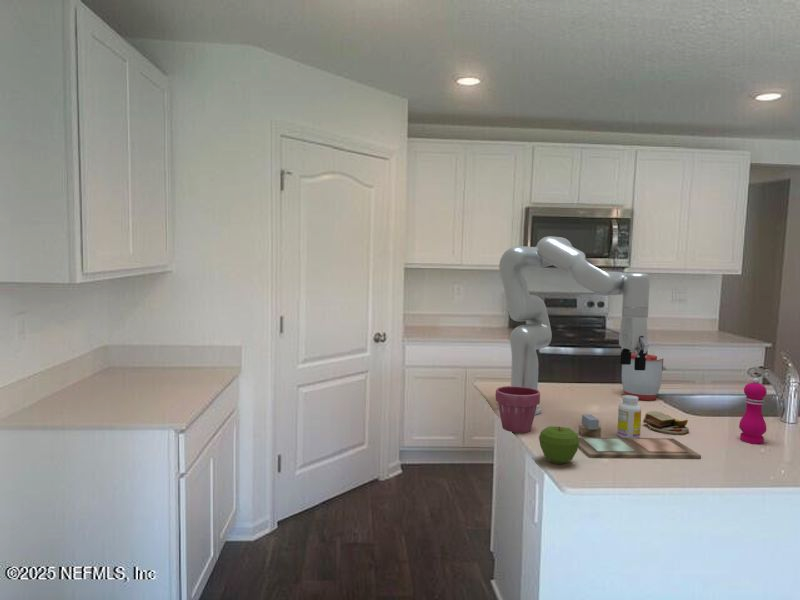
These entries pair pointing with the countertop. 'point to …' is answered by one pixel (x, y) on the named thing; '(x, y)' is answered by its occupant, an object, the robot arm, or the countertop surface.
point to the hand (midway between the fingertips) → (632, 367)
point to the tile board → (636, 448)
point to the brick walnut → (589, 432)
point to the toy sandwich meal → (665, 423)
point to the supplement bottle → (629, 417)
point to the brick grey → (590, 422)
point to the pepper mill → (753, 413)
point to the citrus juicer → (643, 378)
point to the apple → (558, 444)
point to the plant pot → (517, 407)
